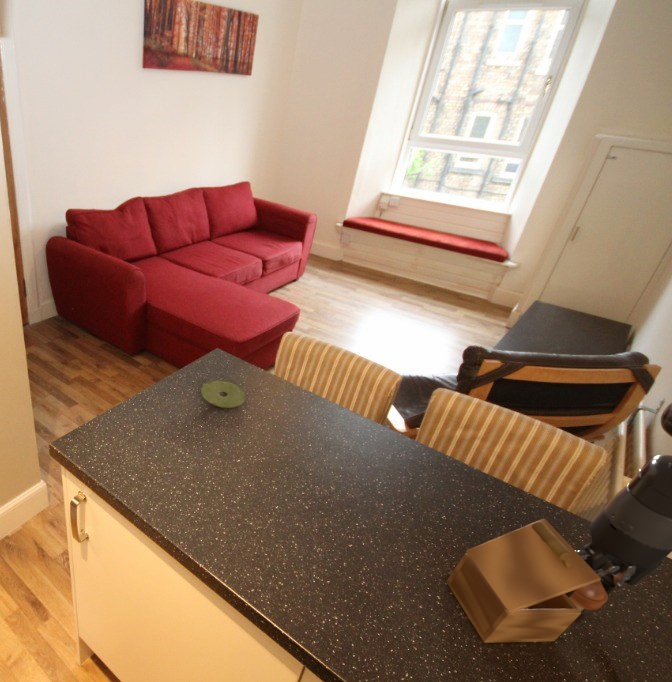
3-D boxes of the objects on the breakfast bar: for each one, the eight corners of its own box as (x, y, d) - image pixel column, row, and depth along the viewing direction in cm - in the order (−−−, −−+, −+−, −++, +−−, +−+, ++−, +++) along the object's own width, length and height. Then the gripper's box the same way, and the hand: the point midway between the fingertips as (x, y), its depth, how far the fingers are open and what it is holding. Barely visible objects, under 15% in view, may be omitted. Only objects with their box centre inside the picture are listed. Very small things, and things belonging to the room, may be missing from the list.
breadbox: (508, 581, 76) (531, 553, 72) (554, 641, 68) (582, 613, 64) (445, 581, 75) (464, 553, 71) (483, 642, 67) (508, 614, 63)
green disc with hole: (206, 382, 120) (207, 376, 119) (247, 392, 117) (248, 386, 116) (195, 406, 111) (196, 399, 110) (240, 418, 108) (241, 411, 107)
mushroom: (578, 595, 73) (604, 567, 69) (594, 628, 68) (623, 601, 65) (538, 582, 74) (562, 555, 71) (552, 615, 70) (578, 587, 66)
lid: (545, 520, 68) (538, 503, 65) (601, 580, 59) (595, 563, 57) (466, 552, 71) (457, 537, 69) (509, 613, 63) (501, 598, 60)
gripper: (660, 502, 65) (595, 571, 74) (570, 501, 64) (514, 572, 73) (718, 548, 59) (640, 618, 67) (619, 548, 58) (552, 620, 66)
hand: (575, 594), depth 70 cm, fingers closed on mushroom, 5 cm apart
